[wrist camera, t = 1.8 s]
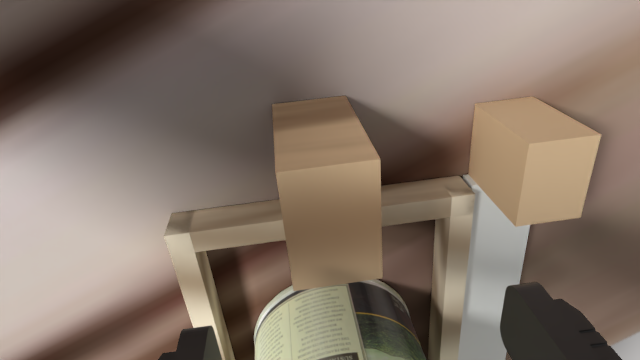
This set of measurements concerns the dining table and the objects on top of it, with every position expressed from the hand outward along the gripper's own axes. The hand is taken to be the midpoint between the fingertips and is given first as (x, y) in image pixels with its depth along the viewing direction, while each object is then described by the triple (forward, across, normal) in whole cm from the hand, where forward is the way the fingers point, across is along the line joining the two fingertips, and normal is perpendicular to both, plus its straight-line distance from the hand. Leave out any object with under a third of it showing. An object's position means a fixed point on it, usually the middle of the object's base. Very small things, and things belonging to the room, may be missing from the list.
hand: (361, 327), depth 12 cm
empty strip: (+12, -9, +9) cm, 18 cm away
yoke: (+11, 0, +9) cm, 14 cm away
